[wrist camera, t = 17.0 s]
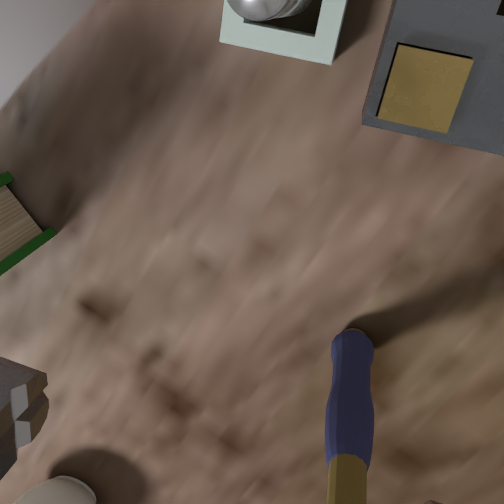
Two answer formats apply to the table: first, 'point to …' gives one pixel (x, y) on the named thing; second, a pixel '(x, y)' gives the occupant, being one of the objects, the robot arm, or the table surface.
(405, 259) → the table surface
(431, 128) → the gold rectangular block
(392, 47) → the socket block
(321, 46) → the pale green square frame
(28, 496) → the lidded bowl
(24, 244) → the hardback book
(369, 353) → the rubber mallet
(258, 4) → the metal cylindrical peg
